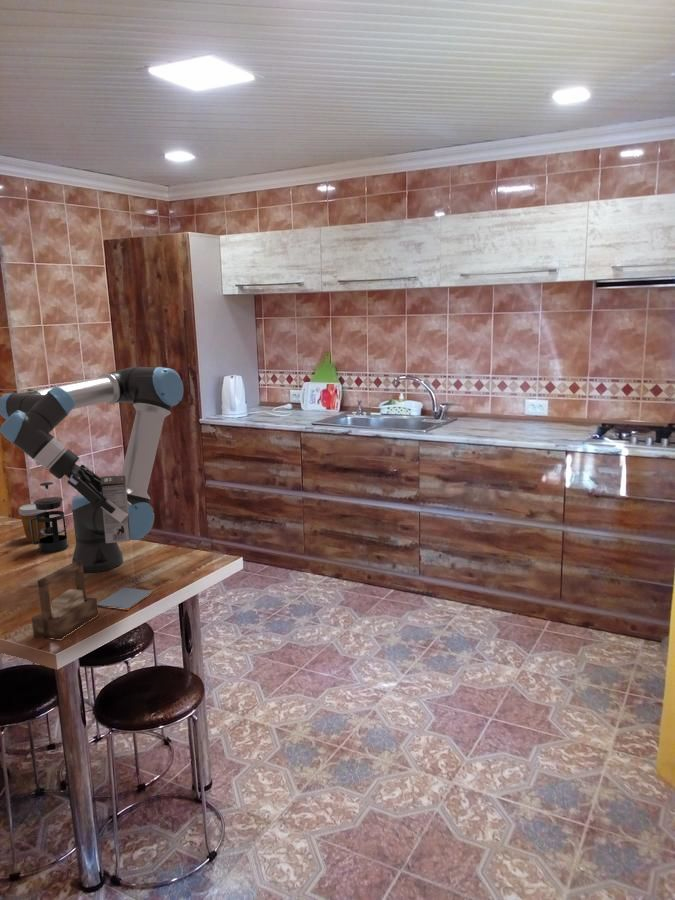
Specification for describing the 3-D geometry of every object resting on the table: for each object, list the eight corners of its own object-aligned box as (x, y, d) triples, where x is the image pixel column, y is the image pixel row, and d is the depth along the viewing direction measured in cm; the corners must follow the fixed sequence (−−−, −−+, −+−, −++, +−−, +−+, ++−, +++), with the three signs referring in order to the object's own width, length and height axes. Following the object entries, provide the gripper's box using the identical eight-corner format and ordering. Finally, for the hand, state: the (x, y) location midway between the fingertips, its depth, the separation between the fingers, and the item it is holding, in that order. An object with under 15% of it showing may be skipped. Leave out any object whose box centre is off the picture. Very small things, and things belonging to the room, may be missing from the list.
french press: (65, 541, 235) (58, 477, 231) (74, 548, 228) (67, 482, 223) (30, 549, 228) (22, 483, 224) (37, 556, 221) (29, 488, 216)
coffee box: (105, 533, 184) (100, 476, 181) (130, 531, 186) (125, 474, 183) (104, 543, 176) (99, 483, 173) (130, 541, 178) (125, 481, 174)
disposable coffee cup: (55, 538, 239) (52, 505, 237) (29, 545, 232) (25, 511, 230) (43, 532, 245) (39, 501, 243) (17, 539, 238) (13, 507, 236)
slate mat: (123, 589, 192) (123, 587, 192) (153, 593, 189) (153, 591, 189) (96, 606, 181) (96, 604, 181) (127, 610, 178) (127, 608, 178)
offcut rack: (73, 612, 178) (67, 559, 175) (98, 616, 175) (92, 561, 172) (34, 636, 165) (26, 579, 162) (60, 641, 162) (53, 582, 159)
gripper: (56, 461, 185) (121, 512, 191) (37, 479, 163) (111, 536, 170) (74, 441, 185) (139, 492, 191) (58, 456, 163) (131, 514, 170)
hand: (126, 513), depth 180 cm, fingers closed on coffee box, 9 cm apart
